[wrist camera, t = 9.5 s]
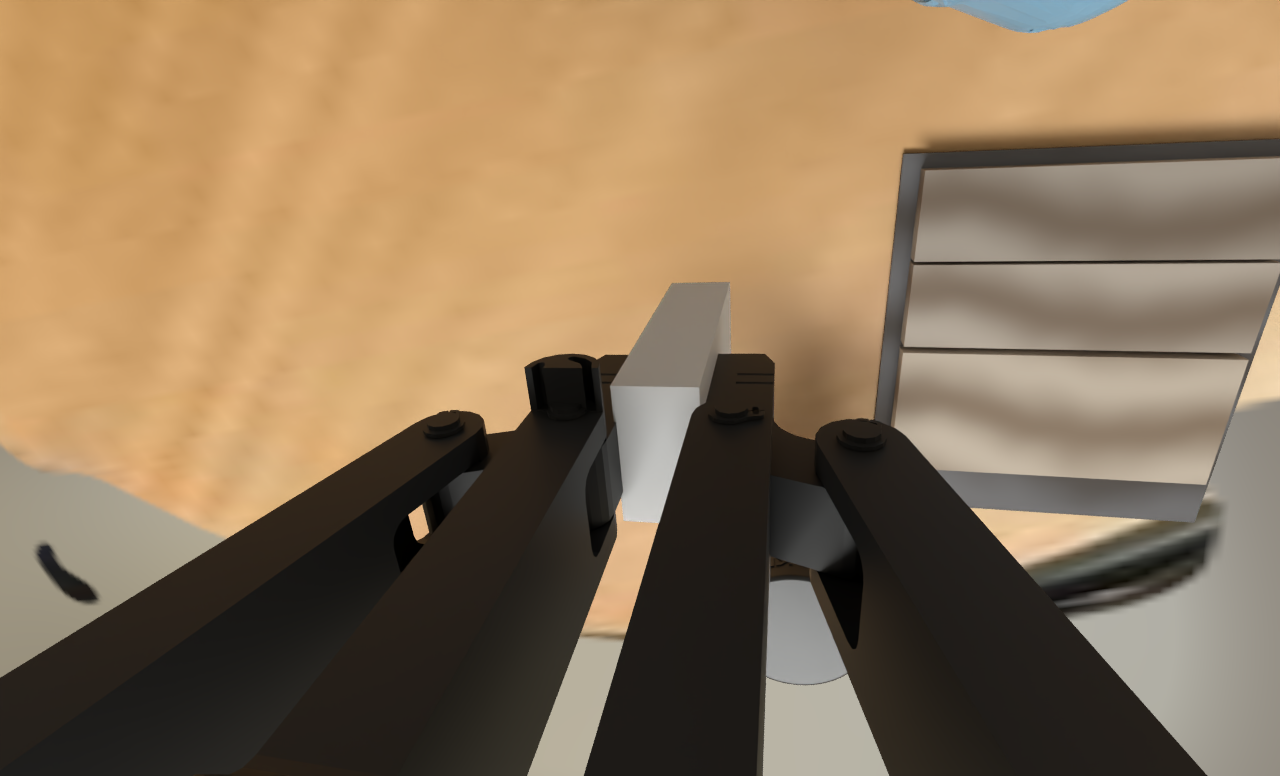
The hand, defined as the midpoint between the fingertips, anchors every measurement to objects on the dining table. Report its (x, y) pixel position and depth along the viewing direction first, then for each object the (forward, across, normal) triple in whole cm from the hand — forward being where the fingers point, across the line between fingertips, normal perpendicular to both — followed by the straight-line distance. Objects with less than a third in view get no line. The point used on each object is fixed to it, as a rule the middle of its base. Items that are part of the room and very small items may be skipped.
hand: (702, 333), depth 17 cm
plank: (+24, +18, -14) cm, 33 cm away
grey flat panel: (+24, +18, -10) cm, 32 cm away
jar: (+24, +3, -22) cm, 33 cm away
